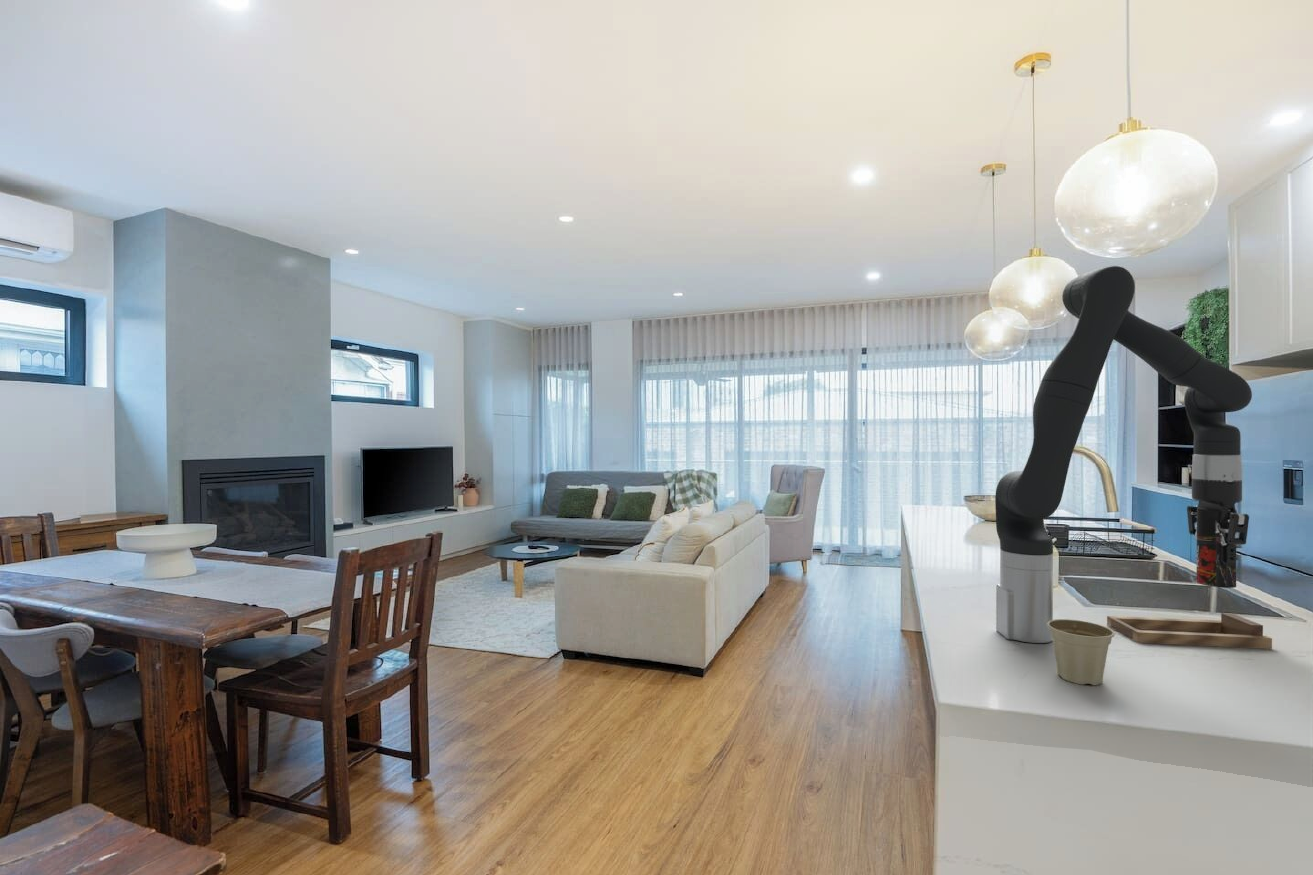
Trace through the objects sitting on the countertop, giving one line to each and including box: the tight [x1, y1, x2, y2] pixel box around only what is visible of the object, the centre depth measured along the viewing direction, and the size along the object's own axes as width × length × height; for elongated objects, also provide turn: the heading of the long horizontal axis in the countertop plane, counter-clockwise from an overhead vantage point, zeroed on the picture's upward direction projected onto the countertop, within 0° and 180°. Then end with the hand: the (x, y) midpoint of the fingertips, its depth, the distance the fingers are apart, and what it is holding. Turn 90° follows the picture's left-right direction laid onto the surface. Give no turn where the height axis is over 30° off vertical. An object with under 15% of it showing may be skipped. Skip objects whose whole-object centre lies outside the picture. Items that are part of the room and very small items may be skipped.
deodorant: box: [1195, 508, 1238, 589], centre depth 126 cm, size 6×6×15 cm
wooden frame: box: [1106, 612, 1273, 650], centre depth 127 cm, size 23×11×4 cm, turn 80°
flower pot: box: [1047, 618, 1116, 686], centre depth 106 cm, size 9×9×9 cm
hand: (1216, 561), depth 126 cm, fingers closed on deodorant, 6 cm apart
